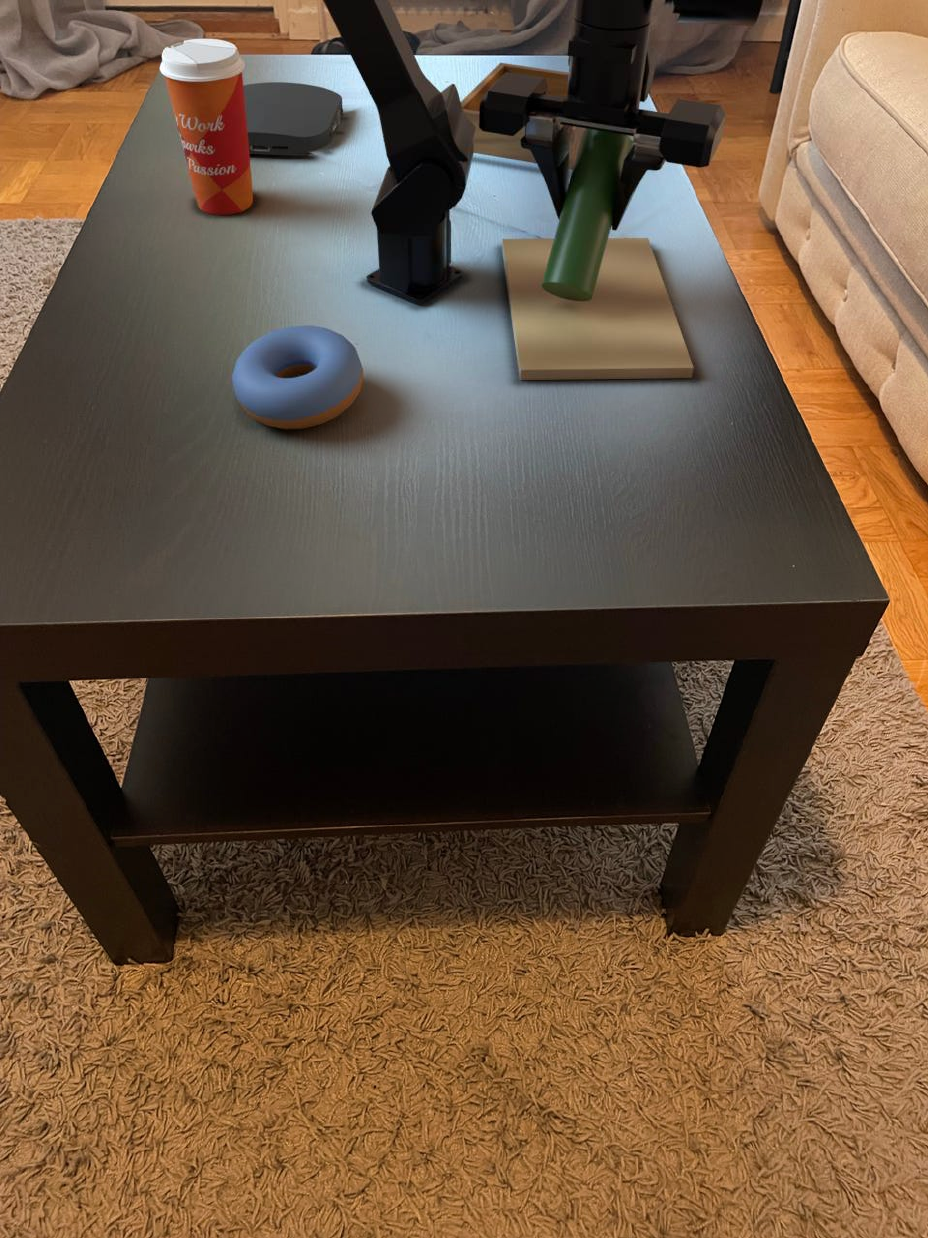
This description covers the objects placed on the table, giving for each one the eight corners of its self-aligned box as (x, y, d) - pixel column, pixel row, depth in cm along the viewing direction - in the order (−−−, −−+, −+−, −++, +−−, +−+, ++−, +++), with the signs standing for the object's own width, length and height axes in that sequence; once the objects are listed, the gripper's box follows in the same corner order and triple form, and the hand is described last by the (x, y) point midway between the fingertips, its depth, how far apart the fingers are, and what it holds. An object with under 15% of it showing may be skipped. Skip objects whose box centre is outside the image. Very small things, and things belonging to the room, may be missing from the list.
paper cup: (171, 205, 98) (138, 53, 88) (224, 179, 103) (199, 30, 92) (227, 227, 95) (200, 71, 85) (280, 199, 100) (261, 47, 89)
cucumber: (579, 284, 79) (625, 113, 78) (532, 280, 82) (577, 113, 81) (599, 303, 83) (644, 140, 82) (555, 298, 85) (598, 139, 84)
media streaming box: (228, 103, 116) (224, 76, 114) (349, 109, 116) (347, 82, 114) (195, 154, 107) (190, 125, 104) (327, 161, 106) (324, 132, 104)
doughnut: (231, 442, 72) (220, 390, 69) (243, 366, 79) (233, 316, 76) (364, 438, 73) (360, 386, 70) (365, 363, 80) (361, 313, 76)
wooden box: (570, 176, 104) (574, 129, 101) (452, 155, 107) (452, 109, 104) (607, 122, 114) (613, 78, 111) (498, 105, 117) (500, 62, 114)
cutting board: (691, 378, 79) (694, 367, 78) (519, 380, 78) (520, 369, 78) (646, 247, 94) (648, 237, 93) (501, 248, 93) (502, 238, 92)
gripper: (756, 2, 75) (714, 203, 86) (526, -28, 79) (515, 168, 91) (730, 48, 68) (688, 260, 79) (479, 13, 72) (474, 219, 83)
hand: (588, 223), depth 83 cm, fingers closed on cucumber, 4 cm apart
